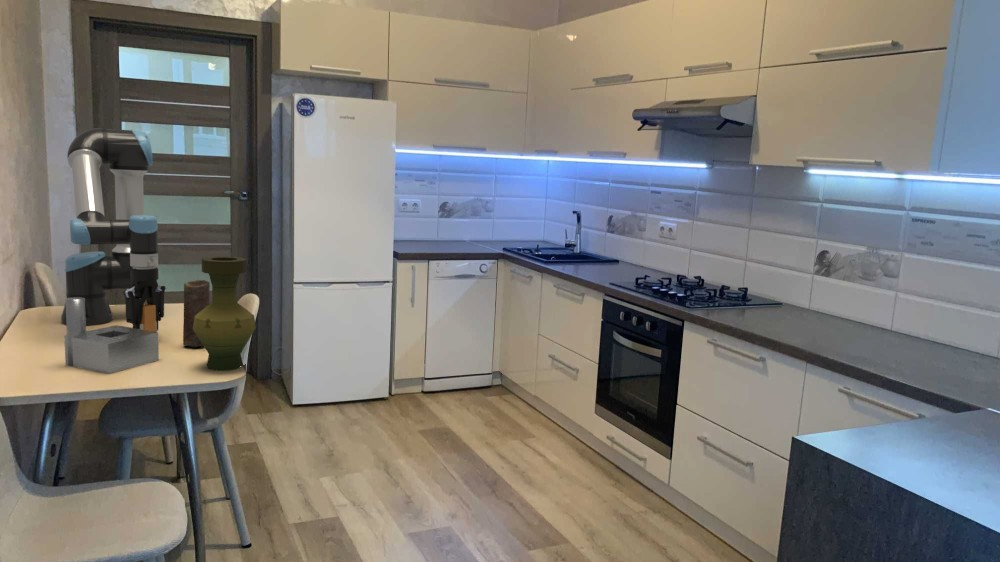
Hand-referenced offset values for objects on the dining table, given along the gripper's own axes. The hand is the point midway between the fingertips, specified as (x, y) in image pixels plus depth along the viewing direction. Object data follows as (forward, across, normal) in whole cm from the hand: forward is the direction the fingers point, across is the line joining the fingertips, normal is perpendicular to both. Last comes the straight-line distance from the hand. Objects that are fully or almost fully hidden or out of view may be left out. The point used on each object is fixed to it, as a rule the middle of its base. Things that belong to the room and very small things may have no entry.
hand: (146, 343), depth 217 cm
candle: (+1, +6, -14) cm, 15 cm away
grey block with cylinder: (0, -19, -9) cm, 21 cm away
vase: (+1, -6, -36) cm, 36 cm away
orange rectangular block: (0, 0, 0) cm, 0 cm away
